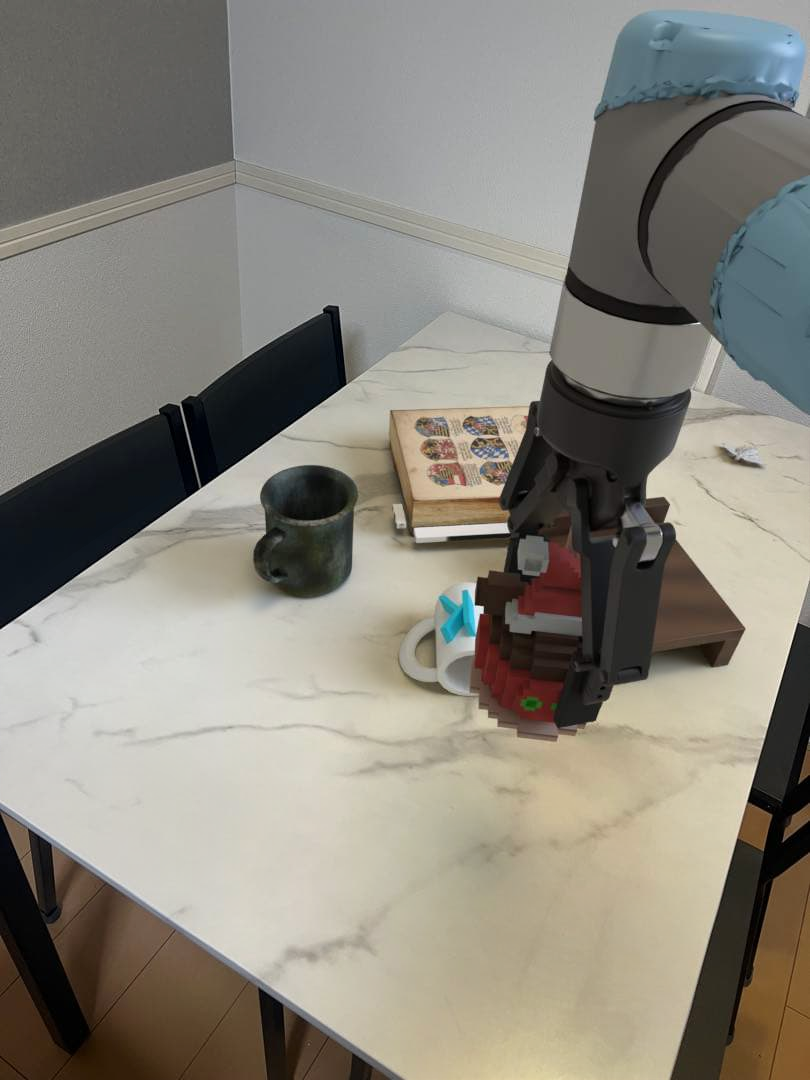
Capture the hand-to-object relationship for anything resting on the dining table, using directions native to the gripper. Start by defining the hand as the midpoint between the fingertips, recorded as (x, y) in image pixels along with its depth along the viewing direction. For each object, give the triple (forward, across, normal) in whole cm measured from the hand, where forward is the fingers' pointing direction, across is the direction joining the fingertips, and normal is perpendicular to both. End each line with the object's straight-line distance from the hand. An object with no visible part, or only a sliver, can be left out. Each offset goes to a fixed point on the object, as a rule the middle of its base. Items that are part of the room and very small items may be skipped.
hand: (542, 659), depth 56 cm
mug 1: (+25, +38, +11) cm, 47 cm away
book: (+25, +51, -17) cm, 59 cm away
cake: (+4, 0, 0) cm, 4 cm away
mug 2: (+25, +23, -3) cm, 34 cm away
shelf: (+25, +25, -25) cm, 43 cm away
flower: (+25, +52, -61) cm, 85 cm away
